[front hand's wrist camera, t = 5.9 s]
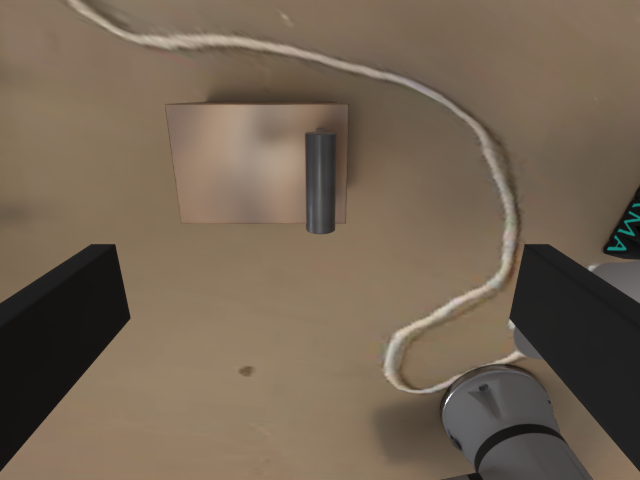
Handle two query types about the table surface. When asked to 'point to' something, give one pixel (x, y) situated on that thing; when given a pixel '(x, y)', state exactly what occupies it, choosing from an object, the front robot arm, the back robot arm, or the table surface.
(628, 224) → the decorative sign
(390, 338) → the table surface
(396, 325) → the table surface
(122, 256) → the table surface
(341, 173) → the lid
